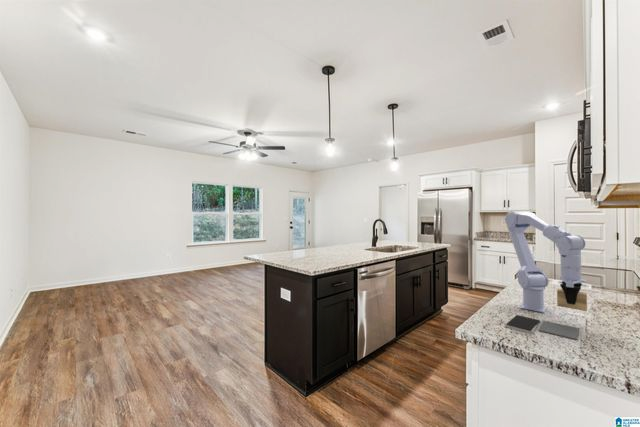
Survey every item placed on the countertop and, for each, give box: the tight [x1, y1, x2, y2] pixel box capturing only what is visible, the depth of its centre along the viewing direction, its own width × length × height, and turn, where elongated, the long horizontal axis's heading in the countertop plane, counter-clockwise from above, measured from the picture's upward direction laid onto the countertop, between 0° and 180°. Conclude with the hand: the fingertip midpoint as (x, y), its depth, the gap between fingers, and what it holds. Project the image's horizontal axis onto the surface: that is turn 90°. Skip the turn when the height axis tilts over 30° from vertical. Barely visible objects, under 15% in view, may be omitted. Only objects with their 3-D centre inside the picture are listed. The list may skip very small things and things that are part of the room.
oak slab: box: [556, 288, 588, 312], centre depth 101 cm, size 4×8×6 cm, turn 44°
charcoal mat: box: [538, 320, 580, 341], centre depth 96 cm, size 12×10×1 cm
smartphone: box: [505, 314, 542, 334], centre depth 102 cm, size 8×1×15 cm
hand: (571, 302), depth 101 cm, fingers closed on oak slab, 4 cm apart
